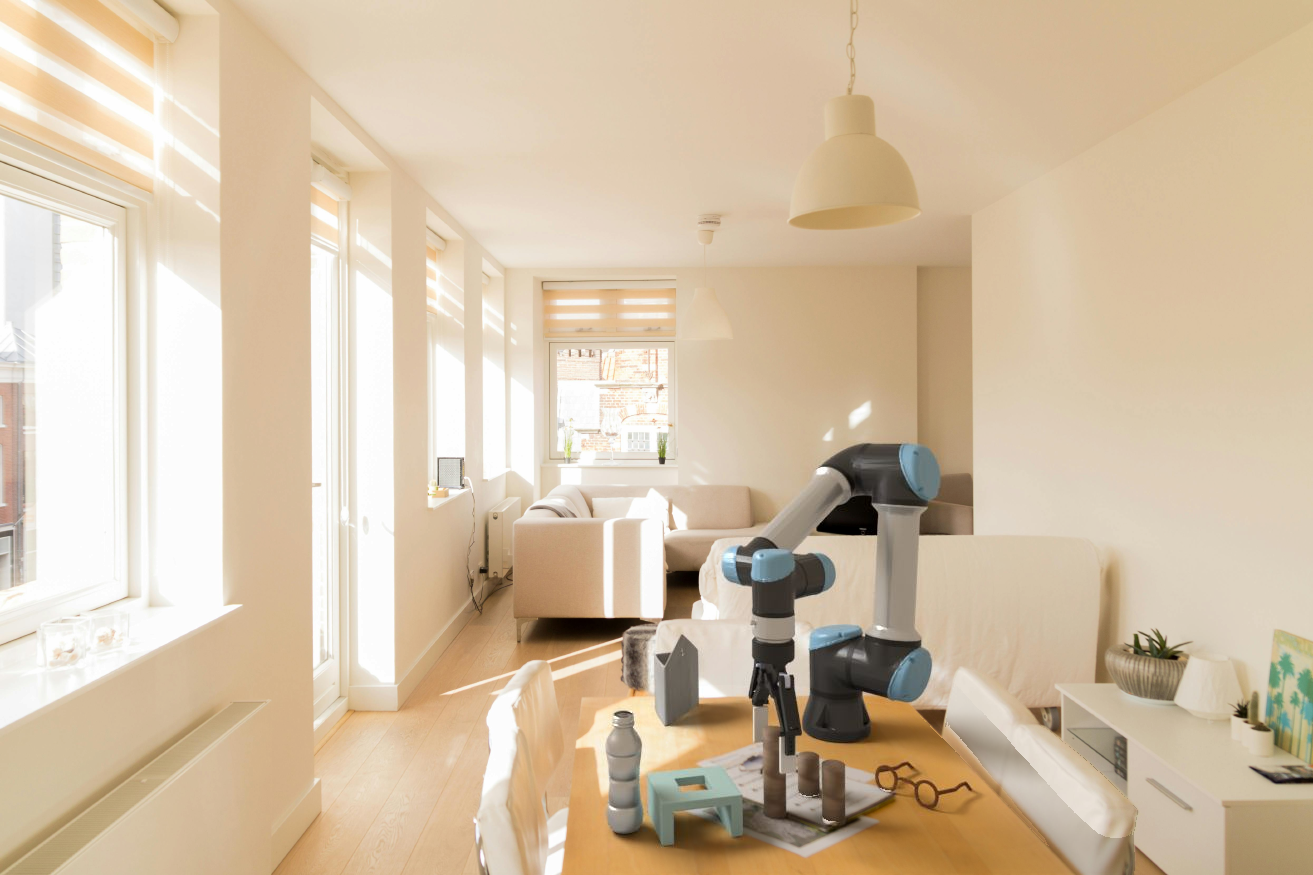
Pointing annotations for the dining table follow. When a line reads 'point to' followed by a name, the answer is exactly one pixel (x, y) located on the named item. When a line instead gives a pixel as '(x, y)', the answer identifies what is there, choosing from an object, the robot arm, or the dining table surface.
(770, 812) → the pin long
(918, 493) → the robot arm
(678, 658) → the planter
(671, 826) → the bridge
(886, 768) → the glasses
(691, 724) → the dining table surface
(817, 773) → the pin short
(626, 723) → the plastic bottle
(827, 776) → the pin medium
